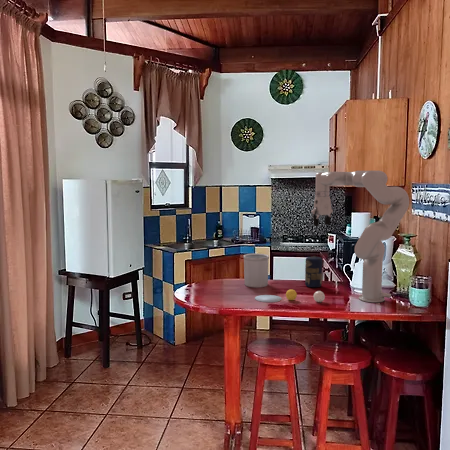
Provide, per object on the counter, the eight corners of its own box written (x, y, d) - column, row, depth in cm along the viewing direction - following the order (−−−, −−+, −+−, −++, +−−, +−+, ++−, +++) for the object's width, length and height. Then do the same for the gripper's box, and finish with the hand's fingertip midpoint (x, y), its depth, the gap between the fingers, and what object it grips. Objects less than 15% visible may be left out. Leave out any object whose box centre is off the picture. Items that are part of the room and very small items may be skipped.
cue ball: (324, 300, 231) (325, 290, 230) (324, 303, 225) (324, 292, 225) (313, 300, 232) (313, 289, 231) (312, 303, 227) (313, 292, 226)
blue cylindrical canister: (301, 285, 264) (302, 255, 262) (315, 283, 268) (315, 253, 266) (311, 289, 255) (312, 257, 254) (325, 287, 259) (325, 256, 257)
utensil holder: (267, 288, 258) (267, 258, 256) (241, 287, 261) (241, 257, 259) (270, 282, 272) (270, 253, 270) (245, 281, 275) (245, 253, 273)
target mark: (283, 296, 240) (283, 295, 240) (279, 303, 227) (279, 302, 227) (257, 294, 244) (257, 294, 244) (252, 301, 230) (252, 300, 230)
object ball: (297, 299, 234) (297, 288, 234) (296, 302, 229) (296, 291, 228) (286, 298, 236) (286, 287, 235) (285, 301, 230) (285, 290, 230)
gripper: (317, 195, 242) (316, 226, 244) (337, 194, 253) (337, 224, 255) (306, 194, 248) (306, 225, 250) (327, 194, 259) (326, 223, 260)
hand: (321, 225), depth 252 cm, fingers open, 9 cm apart
